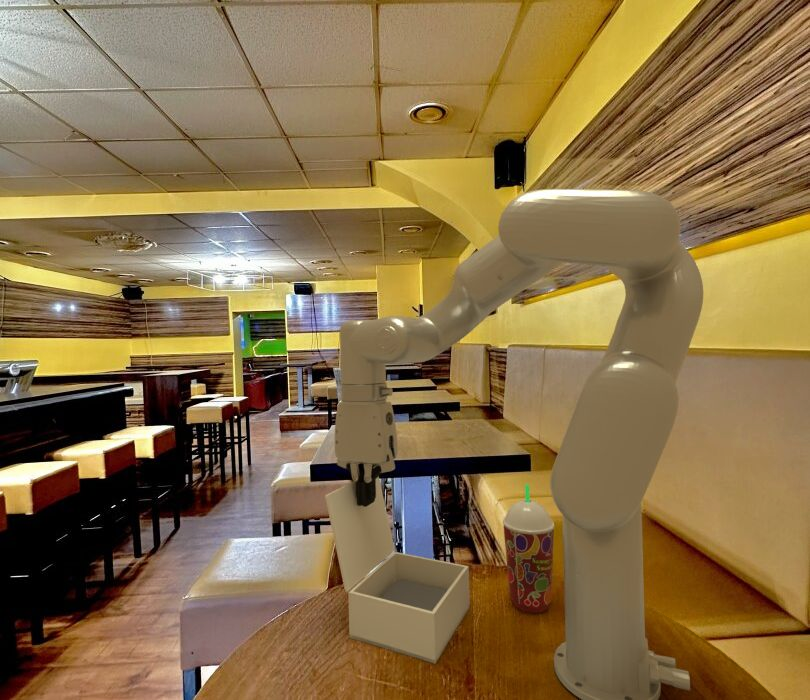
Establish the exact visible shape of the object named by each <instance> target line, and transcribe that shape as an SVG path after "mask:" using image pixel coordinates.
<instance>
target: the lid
mask: <svg viewBox="0 0 810 700" xmlns="http://www.w3.org/2000/svg"><path fill="white" fill-rule="evenodd" d="M324 497H325V498H324V499H325V502H326V509H327V512H328V517H329V522H330V526H331V530H332V536H333V540H334V544H335V551H336V554H337V560H338V564H339V568H340V574H341V578H342V584H343V588H344V592H345V593H348V592H349V591H350V590H352V589H353V588H354V587H355V586H356V585H357V584H358V583H360V582H361V581H362V580H363V579H364V578H365V577H366V576H368V575H369V574H370V573H371V572H372V571H373V570H374V569H376V568H377V567H378V566H379V565H380V564H381V563H382V562H384V561H385V560H386V559H387V558H388V557H389V556H390V555H392V554H393V553H394V552H396V548H395V543H394V539H393V534H392V531H391V530H392V529H391V525H390V520H389V516H388V514H387V513H388V512H387V508H386V504H385V498H384V494H383V490H382V485H381V482H380V477H378V478H377V479H376V498H375V501H374V502H373V503H372V504H370V505H368V506H367V507H364V506H363V505H361V506H358V505H357V498H356V481H354V480H353V481H352V482H349V483H347V484H346V485H344V486H342V487H339V488H337V489H335V490H333V491H332V492H329V493H327V494H325V495H324Z"/></svg>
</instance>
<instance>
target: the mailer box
mask: <svg viewBox="0 0 810 700" xmlns="http://www.w3.org/2000/svg"><path fill="white" fill-rule="evenodd" d="M347 593H348V595H347V596H348V624H349V625H348V627H349V628H348V631H349V634H348V635H349V638H350V639H353V640H355V641H356V640H357V641H360V642H363V643H366V644H369V645H372V646H376V647H378V648H382V649H386V650H389V651H391V652H396V653H398V654H402V655H405V656H409V657H411V658H415V659H418V660H422V661H424V662H427V663H432V664H436V663H437V662H438V661H439V658H441V656H442V653H444V651H445V649H446V647H447V646H448V643H450V640H451V639H452V637H453V636H454V633H456V631H457V629H458V628H459V626H460V624H461V622H462V621H463V619H464V618H465V616H466V614H467V613H468V612H469V609H470V607H471V606H470V605H471V604H470V603H471V601H470V600H471V599H470V567H469V566H468V565H465V564H459V563H455V562H448V561H444V560H439V559H433V558H427V557H424V556H417V555H413V554H408V553H403V552H397V551H394V552H392V553H391V554H390V555H389V556H388V557H387V558H386V559H384V560H383V561H382V562H381V563H380V564H379V565H378V566H376V567H375V568H374V569H373V570H372V571H371V572H370V573H368V574H367V575H366V576H365V577H364V578H363V579H362V580H360V581H359V582H358V583H357V584H356V585H355V586H354V587H352V588H351V589H350V590H349V591H348V592H347Z"/></svg>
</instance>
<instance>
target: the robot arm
mask: <svg viewBox="0 0 810 700" xmlns="http://www.w3.org/2000/svg"><path fill="white" fill-rule="evenodd" d="M499 217H500V218H499V221H498V226H497V228H498V229H497V230H498V234H497V236H495V237H494V238H492V239H491V240H489V242H487V243H486V244H484V245H483V246H481V248H479V249H478V250H477V251H475V252H473V253H472V254H471V255H469V256H468V257H467V258H466V259H464V260H463V261H461V263H459V264H458V265H457V266H456V267H455V270H454V275H453V283H452V286H451V288H450V290H449V292H448V293H447V295H445V296H444V298H443V299H441V301H439V302H438V303H437V304H435V306H433V307H432V308H430V309H429V310H428V311H426V312H425V313H423V314H421V316H418V317H411V316H403V315H402V316H401V315H400V316H399V315H391V316H386V317H381V318H377V319H354V320H353V319H351V320H347V321H344V322H343V323H342V324H341V325H340V328H339V350H340V351H339V353H340V354H339V357H340V360H339V361H340V400H341V401H340V402H338V404H337V409H336V415H335V416H336V417H335V425H334V426H335V427H334V453H335V457H336V459H337V460H336V465H337V466H339V467H341V468H343V469H346V470H347V471H348V472H349V474H350V475H351V478H352V480H353V481H356V498H357V505H358V506H361V505H363V506H364V507H367V506H368V505H370V504H372V503H373V502H374V501H375V498H376V479H377V478H378V477H379V476H380V475H381V474H383V473H387V472H392V471H394V470H395V469H396V464H395V460H394V459H396V458H397V457H398V451H399V448H398V434H397V427H396V420H395V413H394V409H393V408H394V407H393V405H392V401H387V399H388V397H390V396H392V395H393V388H392V387H388V384H387V377H386V376H387V375H386V373H387V371H386V367H387V365H386V364H388V365H389V364H390V365H391V364H392V365H403V364H413V363H414V364H416V363H425V362H426V361H429V360H432V359H434V358H435V357H437V356H439V355H441V354H442V353H443V352H445V351H446V350H448V349H450V347H452V346H454V345H455V344H457V343H458V342H460V341H461V340H462V339H464V338H465V337H467V336H468V334H470V333H471V332H472V331H473V330H475V329H476V328H477V327H478V326H479V325H480V324H481V323H483V322H484V320H485V319H486V318H487V317H488V316H489V315H491V313H492V312H494V311H495V310H497V309H498V308H500V307H501V306H503V304H505V303H507V302H508V301H510V300H512V299H513V298H514V297H516V296H517V295H519V294H520V293H522V292H523V291H524V290H526V289H527V288H529V287H530V286H532V285H533V284H535V283H536V282H538V281H539V280H541V279H542V278H544V277H545V276H547V275H548V274H550V273H551V272H553V271H554V270H555V269H557V268H558V267H560V266H561V265H562V264H563V263H565V264H567V263H568V264H575V265H576V264H577V265H588V266H598V267H606V268H607V269H608V271H609V272H610V273H611V274H613V275H614V276H615V277H616V278H618V279H619V280H620V281H621V282H622V283H623V286H624V290H625V298H624V301H623V304H622V307H621V310H620V313H619V315H618V316H617V317H618V318H617V320H616V324H615V327H614V330H613V333H612V336H611V338H610V340H609V343H608V346H607V347H606V350H605V353H604V355H603V358H602V360H601V362H600V363H599V364H598V365H597V366H596V367H595V368H594V369H593V370H591V372H590V373H589V375H588V377H587V379H586V381H585V382H584V384H583V387H582V389H581V391H580V394H579V396H578V399H577V402H576V404H575V407H574V410H573V413H572V415H571V418H570V421H569V423H568V426H567V429H566V432H565V434H564V437H563V438H562V441H561V445H560V447H559V450H558V453H557V454H556V458H555V461H554V463H553V466H552V468H551V471H550V476H549V478H550V479H549V486H550V488H549V489H550V492H551V493H550V494H551V497H552V499H553V502H554V504H555V506H556V508H557V509H558V511H559V512H560V513H561V515H562V551H563V552H562V553H563V554H562V557H563V558H562V559H563V587H564V588H563V589H564V590H563V592H564V593H563V594H564V596H563V597H564V622H565V623H564V625H565V628H564V630H565V641H564V642H562V643H561V644H560V645H558V647H556V650H555V652H554V656H553V664H554V665H553V667H554V671H555V674H556V676H557V678H558V679H559V681H560V682H561V683H562V684H563V686H564V687H565V688H566V689H567V690H568V691H569V692H571V694H573V695H574V696H575V697H577V698H579V699H581V700H659V698H660V697H661V688H662V686H661V684H665V685H669V686H672V687H674V688H678V689H682V690H686V691H689V692H690V691H691V679H690V672H689V671H688V670H683V669H680V668H677V665H676V658H675V657H670V656H667V655H659V654H656V653H655V652H654V650H653V651H652V650H649V643H648V642H649V640H648V637H646V630H645V629H646V628H645V625H646V623H645V594H644V593H645V591H644V588H645V587H644V553H643V552H644V548H643V519H642V501H643V499H644V497H645V495H646V493H647V490H648V487H649V485H650V483H651V481H652V478H653V476H654V474H655V472H656V469H657V466H658V465H659V462H660V459H661V458H662V455H663V453H664V450H665V447H666V446H667V443H668V440H669V438H670V435H671V433H672V430H673V428H674V425H675V422H676V418H677V416H678V415H677V414H678V410H679V402H680V401H679V392H678V388H677V385H676V384H677V381H678V377H679V375H680V371H681V369H682V366H683V365H684V362H685V359H686V357H687V354H688V351H689V348H690V345H691V343H692V340H693V337H694V334H695V331H696V328H697V326H698V323H699V320H700V316H701V312H702V309H703V304H704V284H703V279H702V275H701V273H700V269H699V267H698V265H697V263H696V261H695V259H694V257H693V256H692V254H691V253H690V252H689V251H688V249H687V248H686V247H685V246H684V245H683V243H682V242H681V241H680V237H681V231H682V230H681V229H682V228H681V219H680V216H679V213H678V211H677V209H676V208H675V207H674V205H673V204H672V203H671V202H670V201H668V199H666V198H664V197H662V196H661V195H658V194H657V193H653V192H649V191H645V190H637V189H636V190H635V189H584V188H583V189H582V188H581V189H580V188H579V189H577V188H574V189H573V188H570V189H569V188H549V189H548V188H547V189H546V188H545V189H544V188H543V189H536V190H530V191H527V192H524V193H522V194H520V195H518V196H516V197H514V198H513V199H512V200H511V201H509V203H508V204H507V205H506V207H505V208H504V209H503V211H502V213H501V215H500V216H499ZM379 478H380V477H379Z"/></svg>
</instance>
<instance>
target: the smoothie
mask: <svg viewBox="0 0 810 700" xmlns="http://www.w3.org/2000/svg"><path fill="white" fill-rule="evenodd" d="M524 490H525V493H524V494H525V495H524V496H525V499H522V500H519V501H517V502H515V503H513V504H512V505H511V506H510V507H509V509H508V510H507V512H506V515H505V517H503V519H502V524H503V535H504V545H505V556H506V558H505V559H506V567H507V568H506V569H507V580H508V591H509V592H508V593H509V597H510V598H511V599H512V603H513V605H514V606H515V607H516V608H517V609H518V610H520V611H522V612H525V613H531V614H534V613H535V614H538V613H542V612H544V611H547V609H548V607H549V604H550V603H551V601H552V591H553V589H552V588H553V587H552V586H553V563H554V561H553V559H554V558H553V557H554V533H555V532H554V530H555V523H554V521H553V520H552V518H551V516H550V514H549V512H548V511H547V510H546V509H545V507H544V506H543V505H541V504H540V503H539V502H538V501H537V502H536V501H534V500H530V498H531V497H530V484H528V483H527V484H524Z"/></svg>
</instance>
